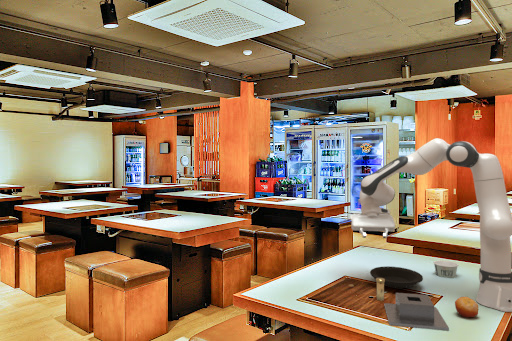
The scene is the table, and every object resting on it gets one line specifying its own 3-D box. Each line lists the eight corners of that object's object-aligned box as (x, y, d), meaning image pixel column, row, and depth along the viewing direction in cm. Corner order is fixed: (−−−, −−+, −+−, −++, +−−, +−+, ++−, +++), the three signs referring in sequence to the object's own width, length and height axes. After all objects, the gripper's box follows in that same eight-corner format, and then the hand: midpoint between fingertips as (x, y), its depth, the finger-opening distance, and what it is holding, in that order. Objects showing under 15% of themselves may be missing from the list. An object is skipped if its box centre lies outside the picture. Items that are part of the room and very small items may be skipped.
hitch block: (436, 309, 153) (436, 292, 153) (449, 330, 133) (449, 311, 133) (384, 305, 158) (384, 288, 157) (389, 325, 138) (389, 306, 138)
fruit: (467, 306, 153) (473, 293, 148) (477, 323, 146) (484, 309, 142) (447, 306, 152) (453, 293, 148) (457, 323, 146) (463, 310, 141)
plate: (429, 297, 168) (429, 284, 168) (373, 293, 173) (373, 281, 172) (415, 278, 195) (415, 267, 195) (367, 275, 200) (367, 265, 200)
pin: (384, 298, 166) (384, 278, 166) (385, 301, 162) (385, 280, 162) (375, 297, 167) (375, 277, 167) (376, 300, 163) (376, 280, 163)
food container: (452, 272, 206) (452, 260, 206) (462, 279, 194) (462, 266, 194) (429, 272, 207) (429, 260, 207) (438, 278, 195) (438, 266, 195)
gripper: (350, 209, 185) (352, 232, 175) (393, 210, 183) (398, 234, 173) (348, 217, 190) (351, 240, 180) (390, 218, 187) (395, 241, 178)
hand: (374, 237), depth 177 cm, fingers open, 8 cm apart
